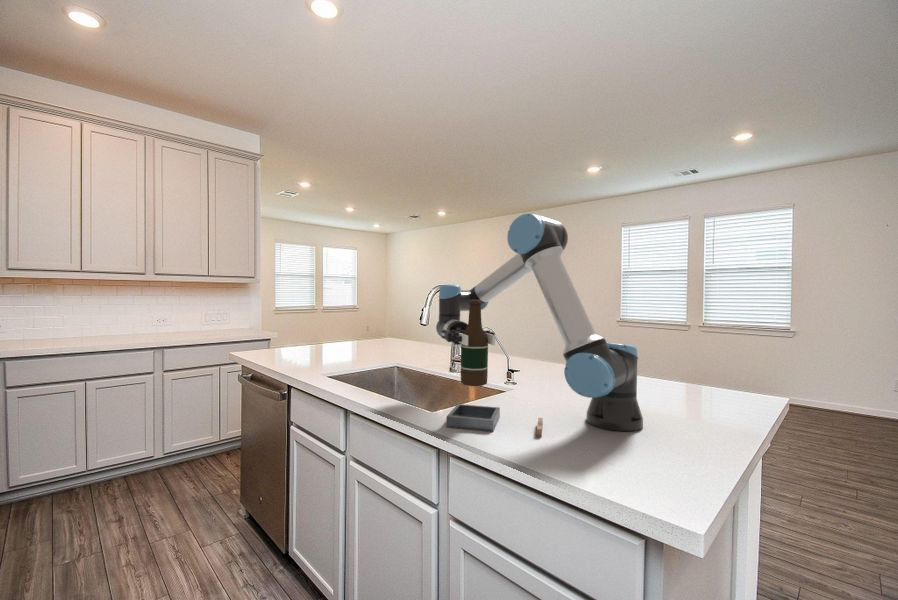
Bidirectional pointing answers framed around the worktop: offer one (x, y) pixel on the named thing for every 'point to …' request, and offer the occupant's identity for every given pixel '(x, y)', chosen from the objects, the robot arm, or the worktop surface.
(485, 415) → the keeper
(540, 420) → the jamb strip
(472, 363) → the beer bottle
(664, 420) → the worktop surface
